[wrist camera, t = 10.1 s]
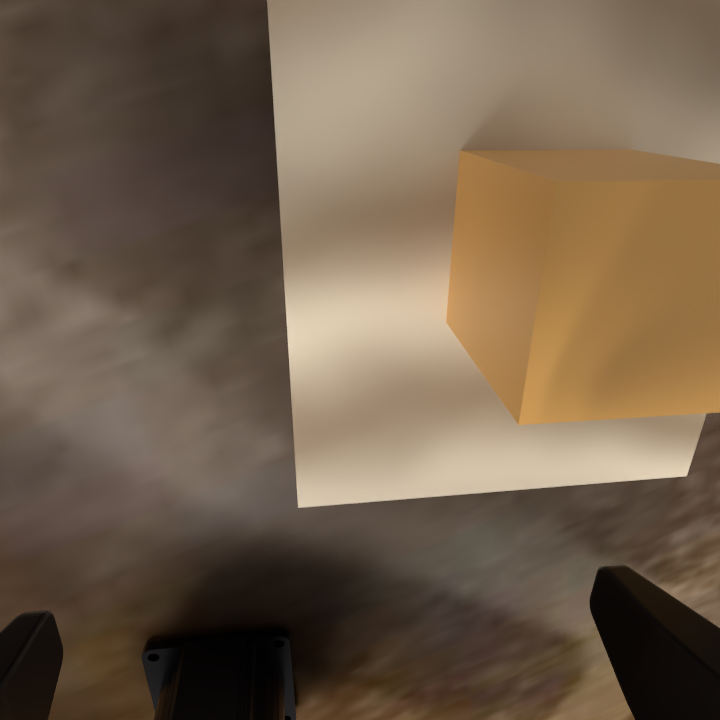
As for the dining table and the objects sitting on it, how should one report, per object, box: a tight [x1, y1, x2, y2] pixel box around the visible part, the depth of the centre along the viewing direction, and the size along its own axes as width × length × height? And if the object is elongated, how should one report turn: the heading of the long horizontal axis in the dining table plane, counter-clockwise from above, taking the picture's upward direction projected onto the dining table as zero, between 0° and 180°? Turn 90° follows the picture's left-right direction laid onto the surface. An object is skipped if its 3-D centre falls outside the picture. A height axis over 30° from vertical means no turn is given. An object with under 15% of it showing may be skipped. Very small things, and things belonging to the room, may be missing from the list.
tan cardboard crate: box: [446, 150, 720, 425], centre depth 15 cm, size 5×5×6 cm
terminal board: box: [267, 0, 720, 508], centre depth 16 cm, size 20×16×5 cm
